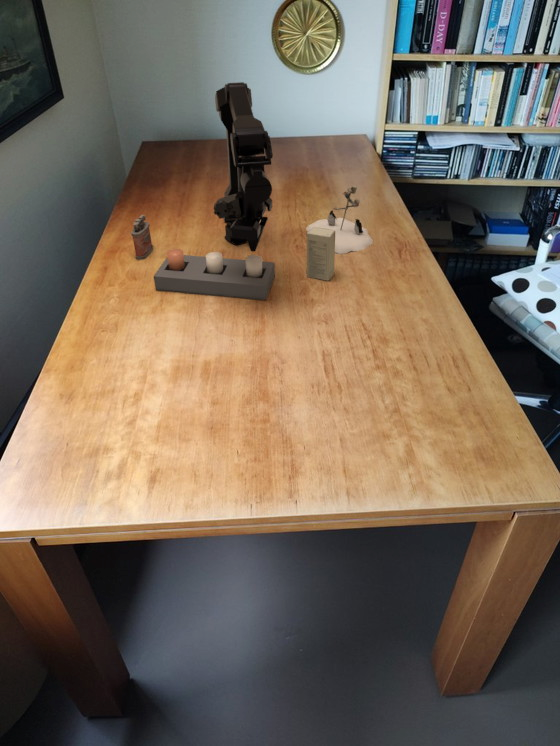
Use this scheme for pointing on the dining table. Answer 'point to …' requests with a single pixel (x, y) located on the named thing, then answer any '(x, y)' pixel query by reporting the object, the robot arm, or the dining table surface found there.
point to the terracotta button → (175, 259)
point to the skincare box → (320, 253)
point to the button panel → (215, 279)
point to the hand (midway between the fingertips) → (253, 250)
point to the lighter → (141, 238)
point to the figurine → (345, 228)
